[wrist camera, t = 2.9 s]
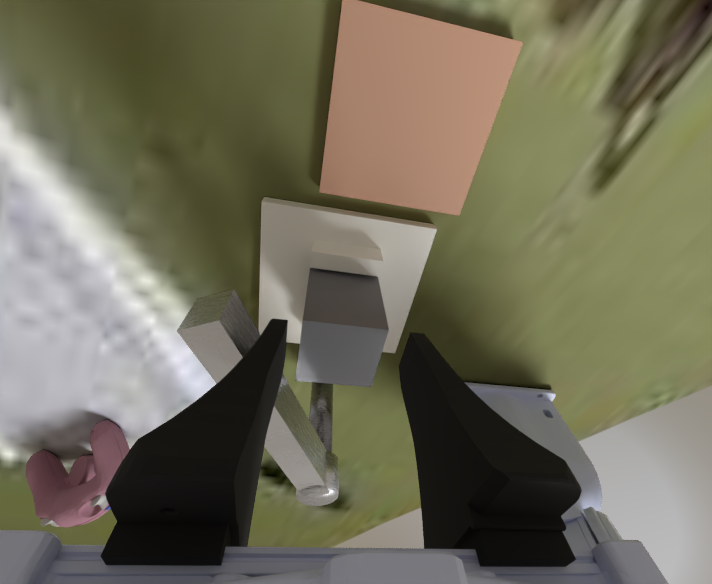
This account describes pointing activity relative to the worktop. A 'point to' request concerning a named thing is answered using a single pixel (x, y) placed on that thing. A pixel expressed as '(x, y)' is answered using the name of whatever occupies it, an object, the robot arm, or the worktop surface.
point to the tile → (411, 107)
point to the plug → (341, 329)
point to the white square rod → (288, 420)
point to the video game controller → (77, 479)
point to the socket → (338, 253)
